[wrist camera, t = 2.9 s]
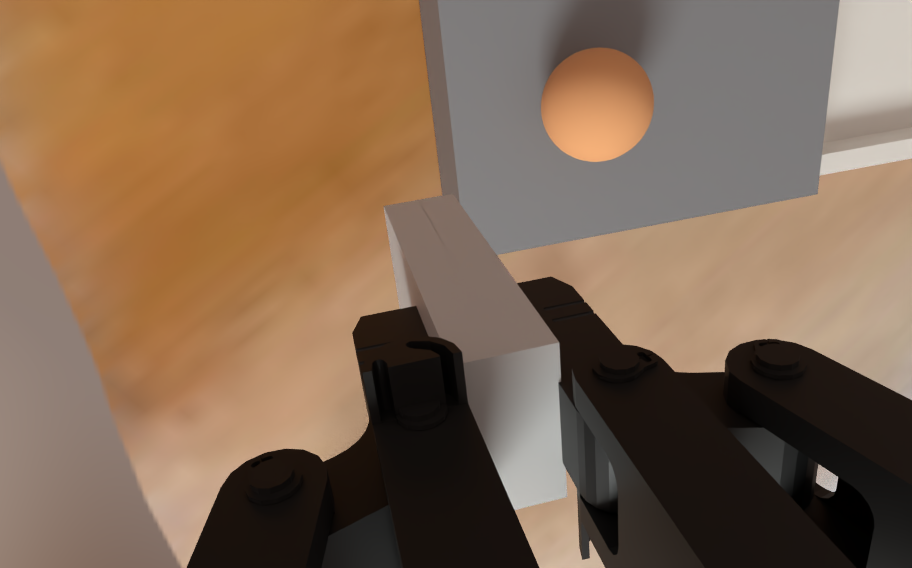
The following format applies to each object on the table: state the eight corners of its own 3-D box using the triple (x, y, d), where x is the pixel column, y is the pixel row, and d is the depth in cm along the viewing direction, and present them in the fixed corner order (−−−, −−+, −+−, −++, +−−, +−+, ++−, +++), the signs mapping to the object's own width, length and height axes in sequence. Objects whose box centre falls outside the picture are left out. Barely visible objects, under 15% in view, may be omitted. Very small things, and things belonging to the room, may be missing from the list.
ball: (625, 33, 28) (675, 47, 24) (625, 137, 30) (673, 165, 26) (523, 48, 27) (560, 65, 24) (530, 154, 29) (565, 184, 26)
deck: (786, -107, 31) (852, -112, 28) (764, 169, 36) (817, 194, 33) (411, -61, 29) (430, -61, 25) (446, 226, 34) (466, 260, 30)
